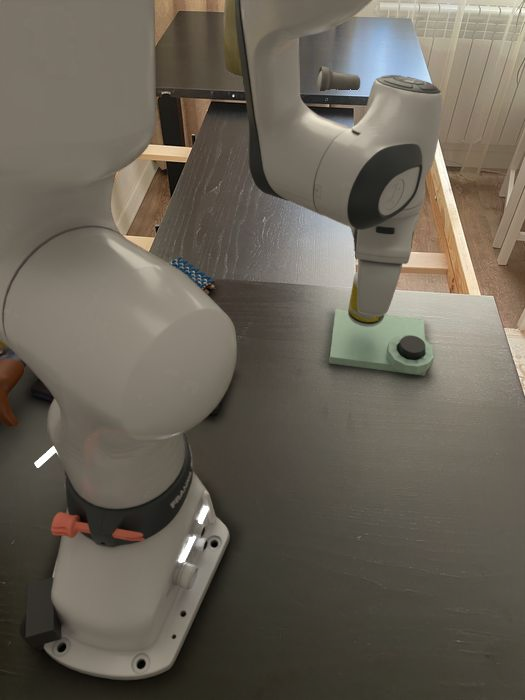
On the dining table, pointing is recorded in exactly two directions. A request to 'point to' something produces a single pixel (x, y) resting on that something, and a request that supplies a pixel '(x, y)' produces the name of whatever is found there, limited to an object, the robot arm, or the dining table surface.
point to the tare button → (411, 347)
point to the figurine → (9, 383)
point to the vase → (231, 39)
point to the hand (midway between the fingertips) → (368, 297)
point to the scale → (378, 344)
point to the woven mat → (194, 274)
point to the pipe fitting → (336, 80)
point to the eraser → (41, 390)
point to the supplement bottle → (353, 310)
